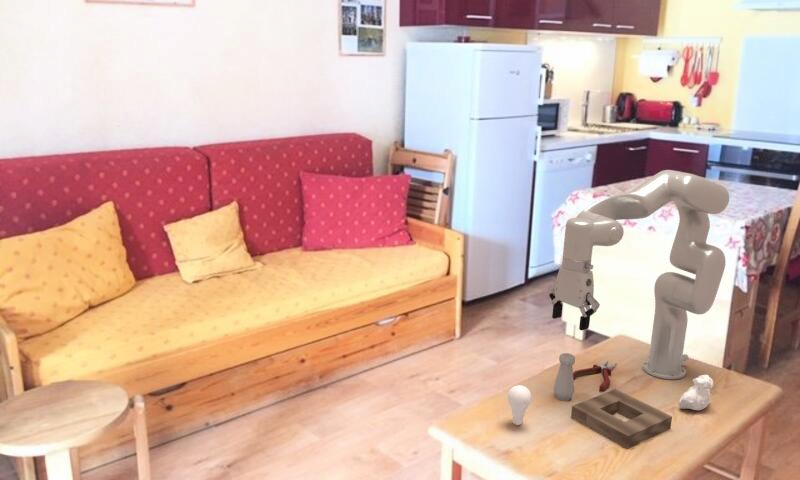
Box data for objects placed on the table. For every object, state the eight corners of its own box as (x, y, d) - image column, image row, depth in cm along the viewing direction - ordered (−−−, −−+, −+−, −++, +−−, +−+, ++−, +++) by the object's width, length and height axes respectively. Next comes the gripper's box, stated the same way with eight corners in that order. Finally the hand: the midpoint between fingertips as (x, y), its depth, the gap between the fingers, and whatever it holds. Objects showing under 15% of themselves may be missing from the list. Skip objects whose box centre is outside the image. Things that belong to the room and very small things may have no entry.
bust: (682, 421, 187) (711, 401, 179) (665, 397, 190) (692, 377, 183) (705, 408, 194) (734, 389, 187) (688, 385, 198) (715, 366, 190)
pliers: (629, 371, 212) (630, 363, 212) (603, 394, 197) (604, 386, 196) (594, 361, 219) (595, 353, 219) (566, 382, 204) (567, 374, 203)
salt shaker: (548, 396, 194) (552, 354, 191) (560, 390, 198) (563, 348, 194) (566, 404, 190) (570, 361, 187) (577, 397, 194) (582, 355, 190)
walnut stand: (614, 400, 193) (615, 388, 192) (670, 428, 179) (672, 416, 178) (571, 417, 183) (572, 405, 182) (627, 448, 169) (628, 436, 168)
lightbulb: (532, 423, 179) (535, 385, 177) (524, 433, 174) (527, 394, 172) (510, 416, 182) (513, 379, 180) (502, 426, 177) (504, 388, 174)
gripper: (611, 270, 179) (604, 331, 183) (561, 254, 193) (555, 311, 197) (592, 274, 175) (585, 336, 179) (542, 257, 188) (537, 316, 193)
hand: (570, 323), depth 188 cm, fingers open, 9 cm apart
